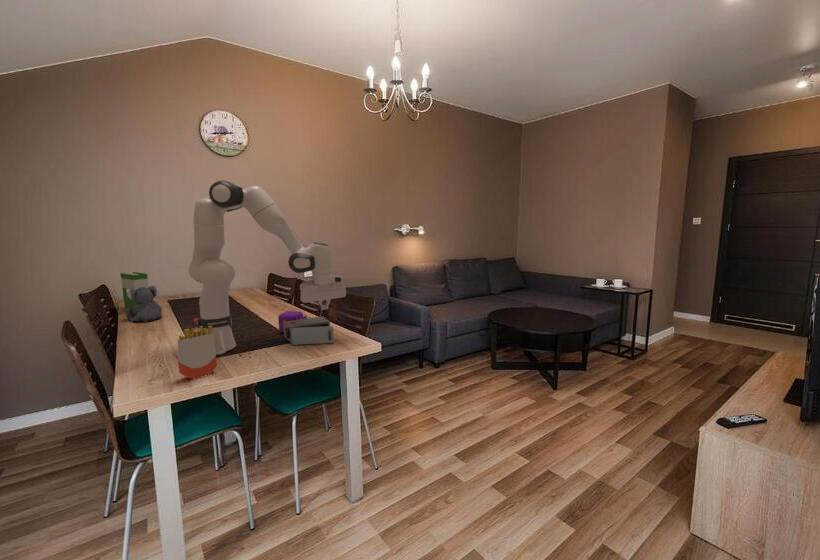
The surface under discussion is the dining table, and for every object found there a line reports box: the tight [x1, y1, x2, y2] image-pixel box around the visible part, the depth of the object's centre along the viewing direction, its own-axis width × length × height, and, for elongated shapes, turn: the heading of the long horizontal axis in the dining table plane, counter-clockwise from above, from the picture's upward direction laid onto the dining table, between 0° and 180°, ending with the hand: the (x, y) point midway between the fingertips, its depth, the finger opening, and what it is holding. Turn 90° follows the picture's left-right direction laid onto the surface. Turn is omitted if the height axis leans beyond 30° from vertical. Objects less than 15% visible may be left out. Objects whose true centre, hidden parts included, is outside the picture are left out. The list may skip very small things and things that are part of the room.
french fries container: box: [177, 326, 218, 380], centre depth 129 cm, size 5×11×18 cm, turn 140°
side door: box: [290, 325, 335, 346], centre depth 163 cm, size 18×2×8 cm, turn 98°
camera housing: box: [283, 316, 331, 344], centre depth 172 cm, size 19×11×9 cm, turn 123°
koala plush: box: [124, 284, 163, 323], centre depth 208 cm, size 17×18×20 cm
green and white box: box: [120, 271, 150, 311], centre depth 227 cm, size 18×7×24 cm, turn 57°
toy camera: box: [277, 309, 308, 334], centre depth 184 cm, size 11×14×10 cm
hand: (324, 309), depth 165 cm, fingers closed
